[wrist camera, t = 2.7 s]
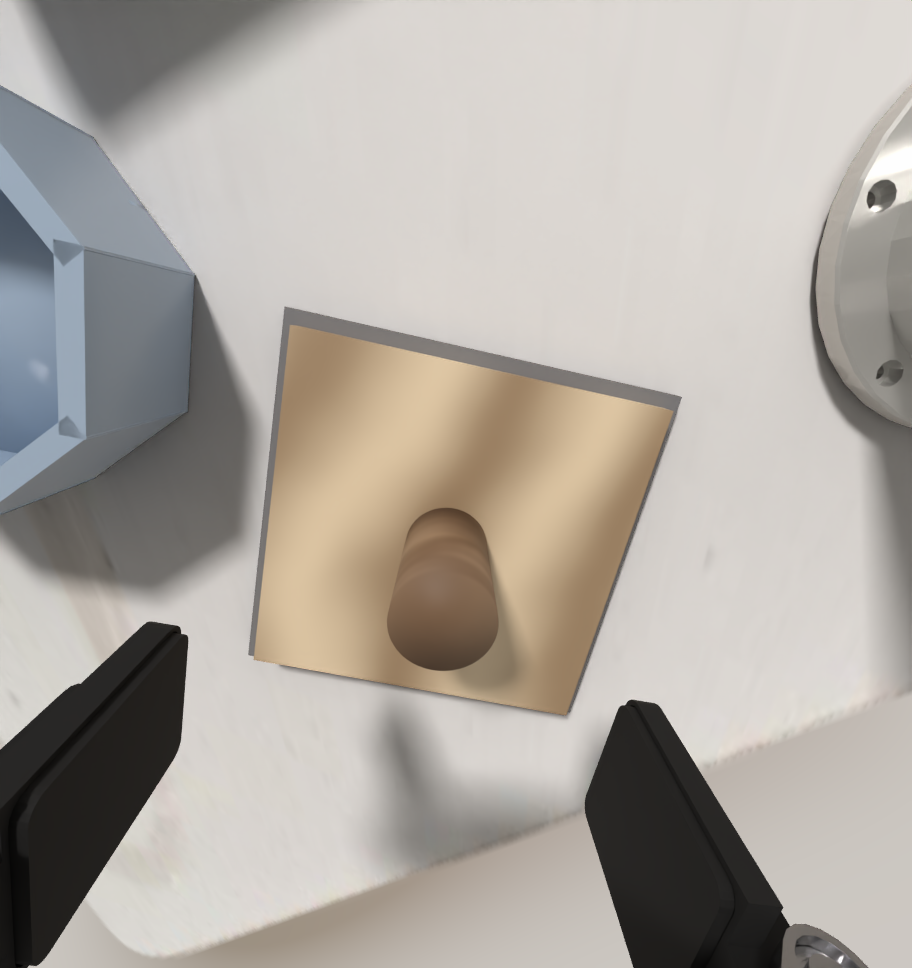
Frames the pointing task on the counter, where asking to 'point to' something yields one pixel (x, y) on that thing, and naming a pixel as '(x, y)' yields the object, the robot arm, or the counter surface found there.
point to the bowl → (80, 310)
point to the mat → (457, 355)
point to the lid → (445, 521)
